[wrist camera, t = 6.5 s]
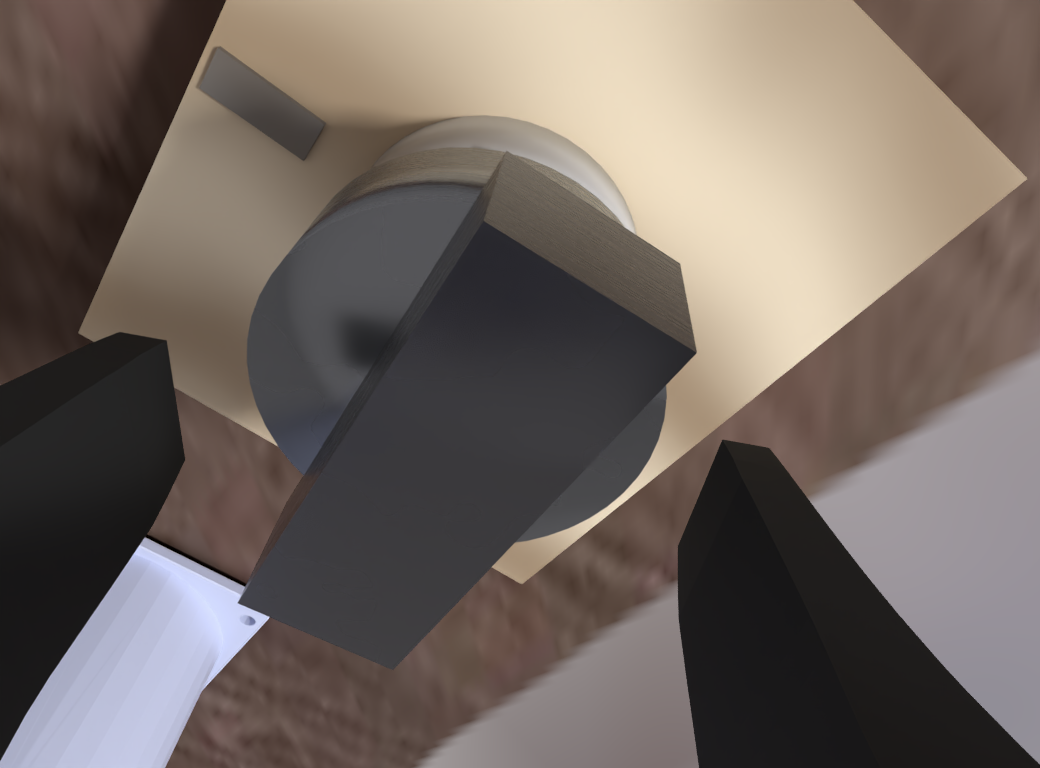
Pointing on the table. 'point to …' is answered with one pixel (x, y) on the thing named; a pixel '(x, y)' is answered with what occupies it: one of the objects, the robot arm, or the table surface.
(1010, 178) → the cream base plate
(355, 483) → the rotary knob
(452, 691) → the table surface
